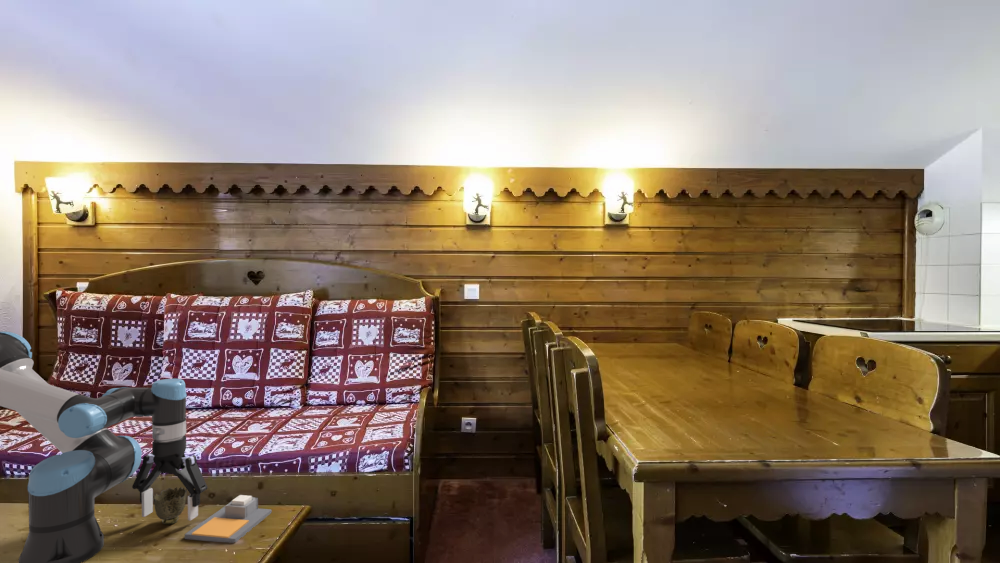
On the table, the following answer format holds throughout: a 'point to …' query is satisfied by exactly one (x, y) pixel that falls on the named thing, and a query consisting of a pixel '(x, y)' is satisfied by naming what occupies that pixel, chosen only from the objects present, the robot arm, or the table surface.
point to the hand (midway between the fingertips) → (170, 516)
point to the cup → (170, 504)
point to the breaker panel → (229, 523)
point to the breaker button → (241, 500)
